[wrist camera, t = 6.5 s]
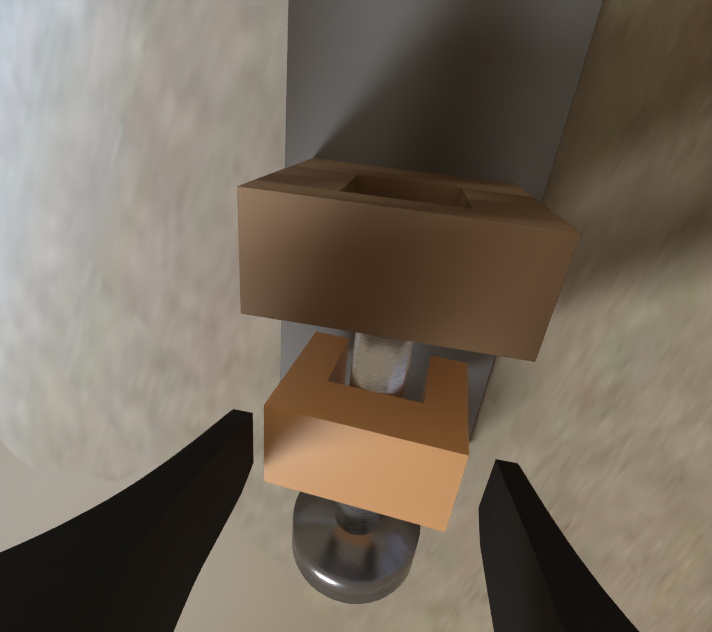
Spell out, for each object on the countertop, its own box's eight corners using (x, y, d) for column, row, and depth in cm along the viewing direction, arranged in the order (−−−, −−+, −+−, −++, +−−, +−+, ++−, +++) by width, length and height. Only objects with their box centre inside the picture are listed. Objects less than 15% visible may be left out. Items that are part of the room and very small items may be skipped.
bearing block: (598, -12, 12) (806, -165, 5) (462, 447, 20) (479, 606, 14) (297, -37, 13) (162, -198, 6) (284, 414, 21) (220, 549, 14)
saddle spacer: (468, 363, 14) (468, 455, 10) (450, 428, 16) (445, 532, 12) (316, 331, 15) (263, 404, 11) (311, 395, 17) (264, 481, 13)
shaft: (473, 263, 14) (496, 335, 9) (415, 499, 19) (412, 618, 14) (326, 242, 14) (280, 301, 10) (309, 478, 19) (275, 587, 15)
